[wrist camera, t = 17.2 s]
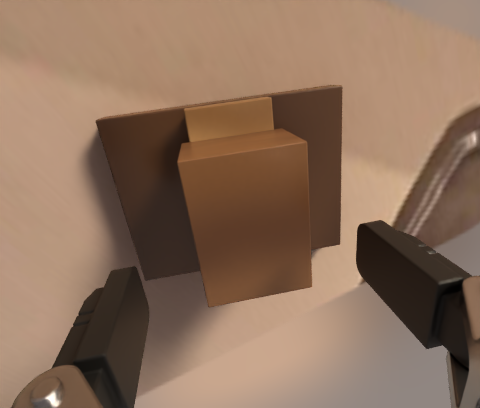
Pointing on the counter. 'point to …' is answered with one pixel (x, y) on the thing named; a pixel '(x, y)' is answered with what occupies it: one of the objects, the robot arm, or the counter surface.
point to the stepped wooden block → (246, 201)
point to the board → (170, 187)
